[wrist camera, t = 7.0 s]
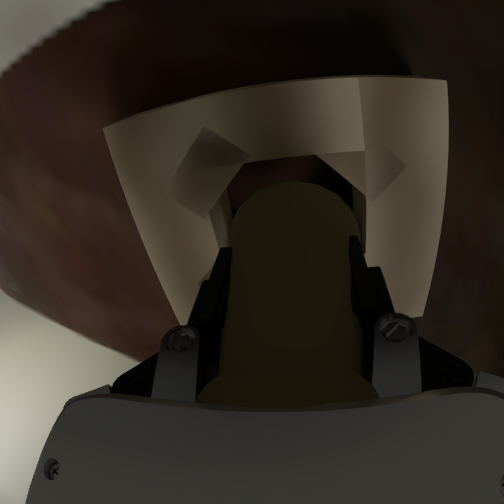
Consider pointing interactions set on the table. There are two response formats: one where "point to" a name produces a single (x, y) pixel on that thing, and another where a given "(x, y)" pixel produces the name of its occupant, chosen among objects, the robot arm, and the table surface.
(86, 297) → the table surface
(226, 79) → the table surface
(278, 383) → the cork
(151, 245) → the jig
